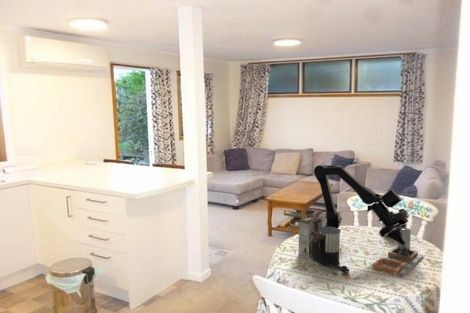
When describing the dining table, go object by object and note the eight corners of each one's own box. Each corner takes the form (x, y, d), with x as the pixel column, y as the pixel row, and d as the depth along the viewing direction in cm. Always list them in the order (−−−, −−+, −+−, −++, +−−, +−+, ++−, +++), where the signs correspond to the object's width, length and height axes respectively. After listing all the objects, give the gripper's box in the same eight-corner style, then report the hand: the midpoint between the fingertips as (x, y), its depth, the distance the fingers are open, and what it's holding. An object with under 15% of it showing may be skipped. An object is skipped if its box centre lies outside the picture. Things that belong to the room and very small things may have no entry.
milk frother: (323, 256, 164) (324, 224, 162) (358, 266, 154) (359, 232, 152) (308, 267, 153) (308, 233, 151) (344, 278, 143) (345, 241, 141)
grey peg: (400, 258, 161) (402, 231, 159) (394, 254, 166) (395, 227, 164) (411, 258, 162) (413, 230, 160) (405, 253, 167) (406, 227, 165)
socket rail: (402, 277, 143) (402, 272, 143) (372, 268, 151) (372, 264, 151) (423, 257, 162) (423, 252, 162) (395, 250, 170) (395, 246, 170)
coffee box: (310, 249, 173) (311, 216, 171) (321, 253, 168) (322, 219, 166) (297, 254, 167) (298, 219, 166) (309, 258, 163) (309, 223, 161)
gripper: (387, 207, 157) (412, 238, 151) (404, 200, 170) (428, 228, 164) (369, 221, 164) (392, 251, 157) (387, 213, 177) (409, 241, 170)
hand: (406, 242), depth 162 cm, fingers closed on grey peg, 5 cm apart
